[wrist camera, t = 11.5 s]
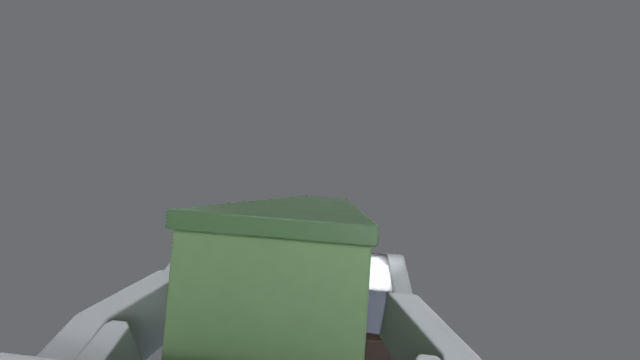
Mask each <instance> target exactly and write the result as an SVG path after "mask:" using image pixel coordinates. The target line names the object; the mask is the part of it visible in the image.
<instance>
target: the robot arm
mask: <svg viewBox="0 0 640 360" xmlns="http://www.w3.org/2000/svg"><path fill="white" fill-rule="evenodd" d="M169 272H170V263H169V264H168V266H167V267H166V268H165V270H159V271H157V272H155V273H153V274H151V275H149V276H147V277H146V278H144V279H142V280H140V281H138V282H136V283H134V284H132V285H131V286H129V287H127V288H125V289H123V290H121V291H119V292H117V293H116V294H114V295H112V296H110V297H108V298H106V299H104V300H102V301H101V302H99V303H97V304H95V305H93V306H91V307H89V308H87V309H86V310H84V311H82V312H80V313H78V314H76V315H75V316H74V317H73V318H72V319H71V320H70V321H69V322H68V323H67V325H66V326H65V327H64V328H63V329H62V330H61V331H60V332H59V333H58V334H57V335H56V336H55V337H54V339H52V340H51V341H50V342H49V343H48V345H47V346H46V347H45V348H44V349H43V350H42V351H41V352H40V353H39V354H38V355H37V356H36V357H33V356H25V355H17V354H9V353H1V352H0V360H146V359H147V358H149V357H150V356H151V355H152V354H153V353H154V352H155V351H157V350H158V349H159V348H160V347H161V346H163V338H164V327H165V316H166V305H167V294H168V283H169ZM366 333H369V334H377V335H380V338H381V339H382V341H383V343H384V344H385V346H386V347H387V349H388V351H389V352H390V354H391V355H392V357H393V359H394V360H482V359H481V358H480V357H479V356H478V355H477V354H476V353H475V352H474V351H473V350H472V349H471V348H470V347H469V346H468V345H467V344H466V343H465V342H464V341H463V340H462V339H461V338H460V337H459V336H458V335H457V334H456V333H455V332H454V331H452V329H451V328H450V327H449V326H448V325H447V324H446V323H445V322H444V321H443V320H442V319H441V318H440V317H439V316H438V315H437V314H436V313H435V312H434V311H433V310H432V309H431V308H430V307H429V306H428V305H427V304H426V303H425V302H424V301H423V300H422V299H421V298H420V297H419V296H418V295H413V294H412V290H411V286H410V282H409V277H408V273H407V268H406V264H405V260H404V256H403V255H399V254H381V253H380V254H379V253H371V268H370V283H369V298H368V313H367V328H366Z"/></svg>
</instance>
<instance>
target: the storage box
mask: <svg viewBox="0 0 640 360" xmlns="http://www.w3.org/2000/svg"><path fill="white" fill-rule="evenodd" d="M165 227H166V228H167V229H173V230H174V232H173V239H172V250H171V261H170V272H169V283H168V294H167V305H166V316H165V327H164V338H163V349H162V360H364V358H365V343H366V328H367V313H368V298H369V283H370V268H371V253H372V249H371V247H376V246H378V240H379V227H378V226H377V225H376V224H375V223H374V222H373V221H372V220H370V219H369V218H368V217H367V216H366V215H364V214H363V213H362V212H361V211H360V210H359V209H358V208H357V207H355V206H354V205H353V204H352V203H351V202H350V201H349V200H347V199H340V198H327V197H314V196H299V197H289V198H279V199H268V200H258V201H248V202H237V203H227V204H217V205H207V206H197V207H186V208H176V209H169V210H167V215H166V226H165Z"/></svg>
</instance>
